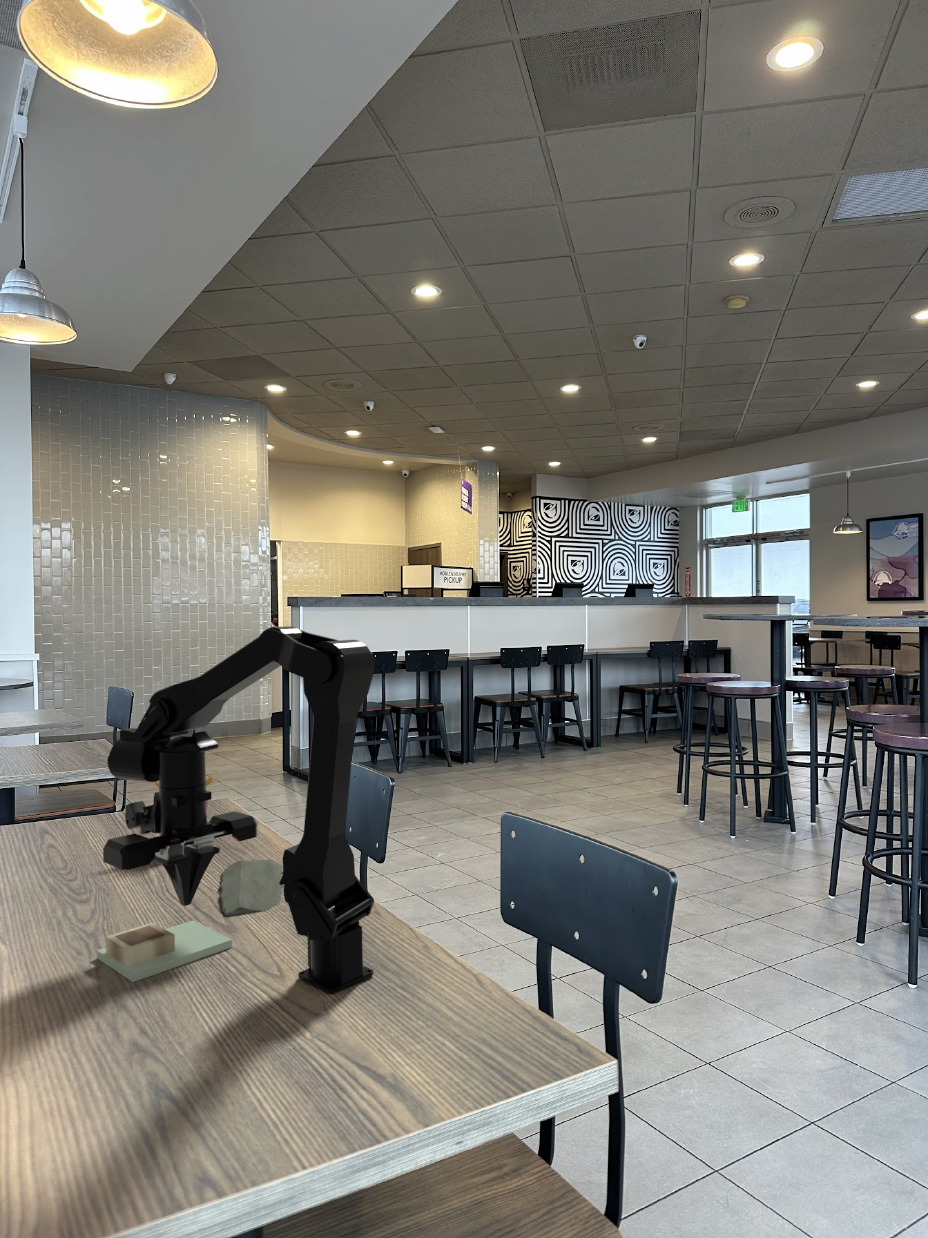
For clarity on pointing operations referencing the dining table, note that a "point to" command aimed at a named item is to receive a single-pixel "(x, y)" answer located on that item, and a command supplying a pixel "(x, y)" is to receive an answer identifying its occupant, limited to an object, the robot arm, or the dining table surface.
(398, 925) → the dining table surface
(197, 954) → the mat
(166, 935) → the beige flat box
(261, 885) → the stone slab
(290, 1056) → the dining table surface
